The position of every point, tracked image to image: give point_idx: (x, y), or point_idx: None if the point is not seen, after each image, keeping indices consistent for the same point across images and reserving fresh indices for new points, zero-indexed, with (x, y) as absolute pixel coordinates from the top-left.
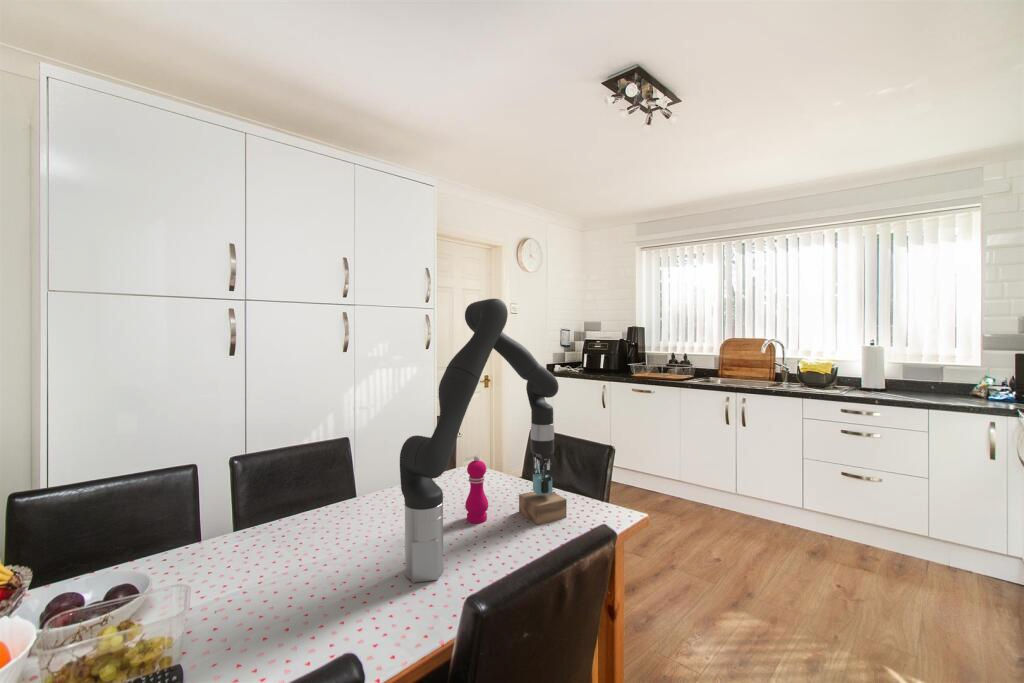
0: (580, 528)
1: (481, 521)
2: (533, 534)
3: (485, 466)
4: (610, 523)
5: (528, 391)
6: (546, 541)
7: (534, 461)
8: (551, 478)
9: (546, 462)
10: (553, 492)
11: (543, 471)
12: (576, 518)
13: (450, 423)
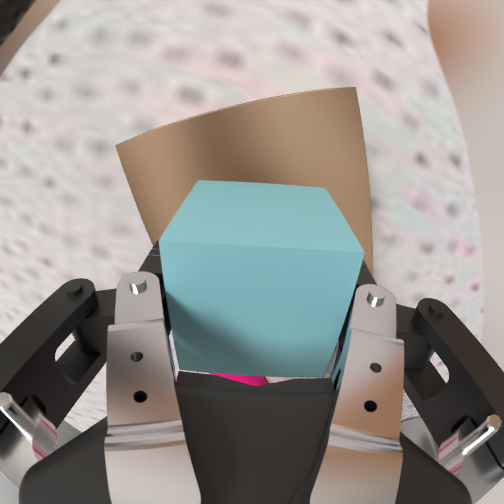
0: (443, 97)
1: (265, 381)
2: (409, 277)
3: None
4: None
5: None
6: (461, 256)
7: (63, 416)
8: (361, 261)
9: (478, 495)
10: (194, 122)
11: (437, 428)
12: (352, 51)
13: None
